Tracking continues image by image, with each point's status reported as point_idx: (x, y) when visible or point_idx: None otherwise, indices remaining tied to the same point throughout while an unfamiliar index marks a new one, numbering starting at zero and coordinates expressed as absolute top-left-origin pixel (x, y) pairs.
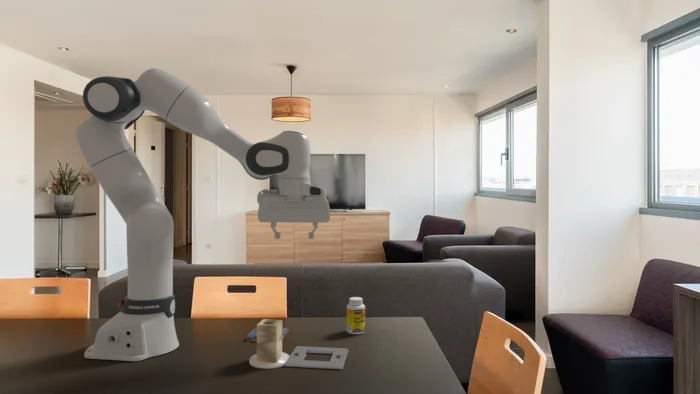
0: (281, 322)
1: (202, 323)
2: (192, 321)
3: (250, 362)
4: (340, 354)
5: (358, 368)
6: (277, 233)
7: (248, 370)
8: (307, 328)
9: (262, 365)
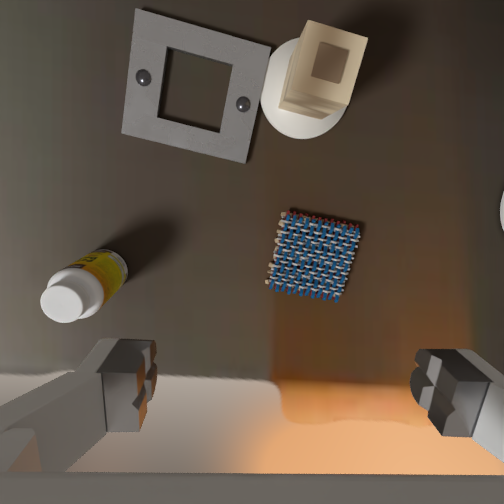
0: (292, 81)
1: None
2: None
3: None
4: (140, 92)
5: (99, 15)
6: (476, 375)
7: None
8: (221, 303)
9: None
